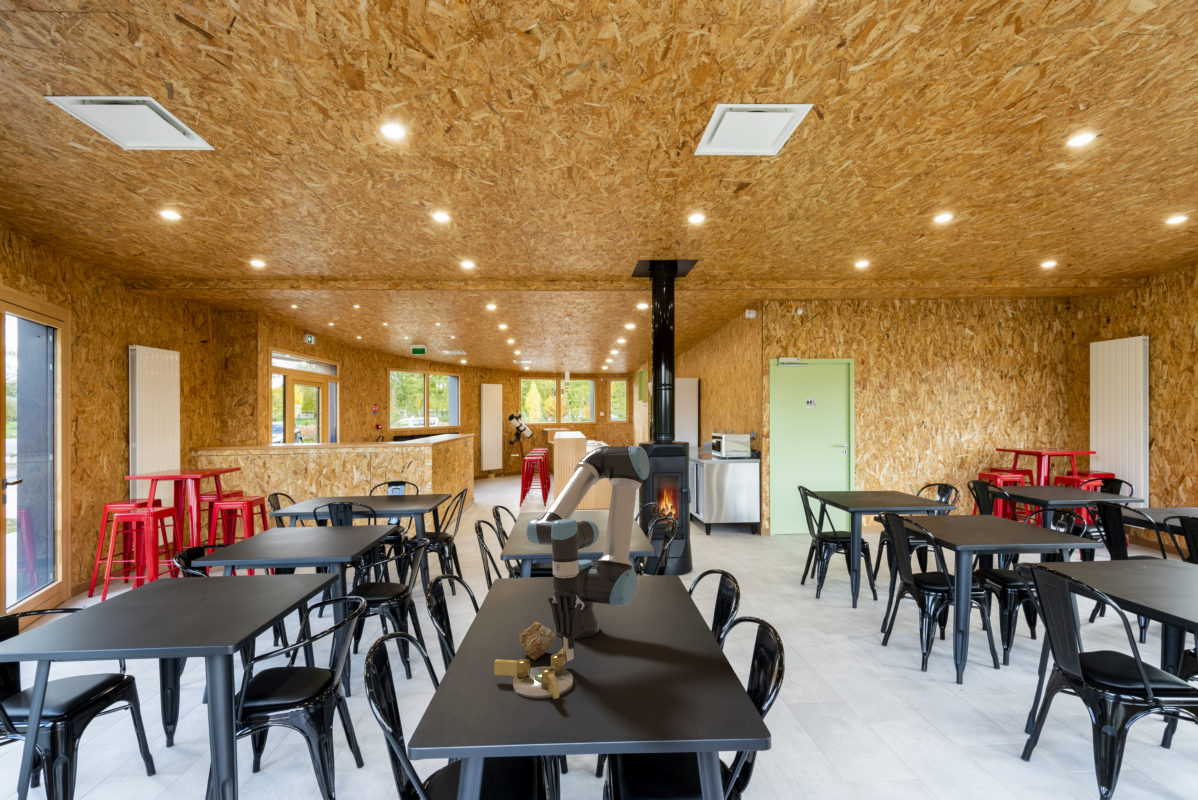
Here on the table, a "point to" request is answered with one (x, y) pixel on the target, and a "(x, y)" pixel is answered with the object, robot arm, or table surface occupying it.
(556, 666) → the knob
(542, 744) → the table surface
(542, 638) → the rock
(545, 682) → the knob
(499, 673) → the knob
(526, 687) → the tribrach plate
